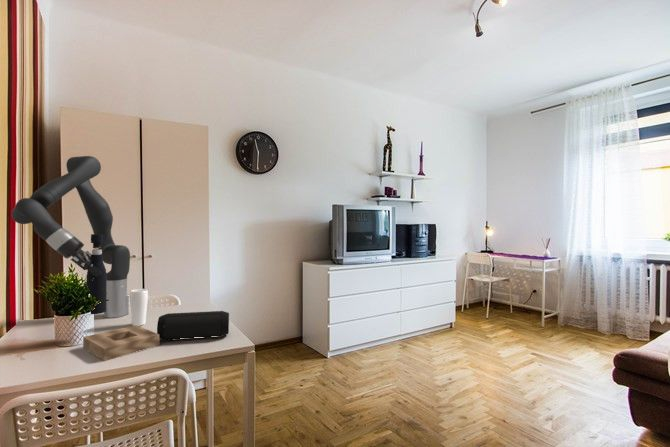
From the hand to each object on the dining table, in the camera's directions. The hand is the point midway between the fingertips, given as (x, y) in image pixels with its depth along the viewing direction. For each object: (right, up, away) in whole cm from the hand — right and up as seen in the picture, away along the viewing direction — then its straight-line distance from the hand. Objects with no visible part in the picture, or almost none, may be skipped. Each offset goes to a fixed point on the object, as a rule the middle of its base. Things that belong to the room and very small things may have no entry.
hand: (101, 273), depth 136 cm
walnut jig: (+13, -25, -9) cm, 30 cm away
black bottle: (-2, -15, 0) cm, 15 cm away
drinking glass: (+5, -25, +17) cm, 31 cm away
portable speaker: (+35, -26, +2) cm, 44 cm away
